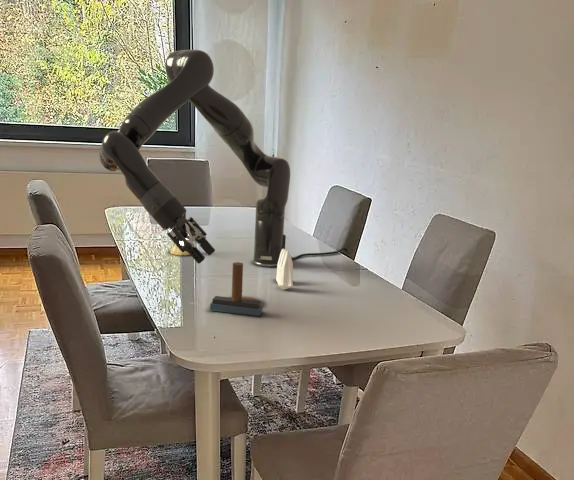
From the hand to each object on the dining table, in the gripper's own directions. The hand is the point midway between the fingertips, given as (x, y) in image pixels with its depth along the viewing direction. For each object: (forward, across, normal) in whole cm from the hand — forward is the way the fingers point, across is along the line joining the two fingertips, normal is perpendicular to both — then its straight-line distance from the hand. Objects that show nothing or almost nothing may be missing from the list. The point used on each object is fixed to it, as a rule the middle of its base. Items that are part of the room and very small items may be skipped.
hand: (207, 257), depth 158 cm
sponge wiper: (+15, 0, +4) cm, 16 cm away
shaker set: (+20, +27, -1) cm, 34 cm away
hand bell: (-8, +52, +27) cm, 59 cm away
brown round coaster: (+15, +8, +4) cm, 17 cm away
